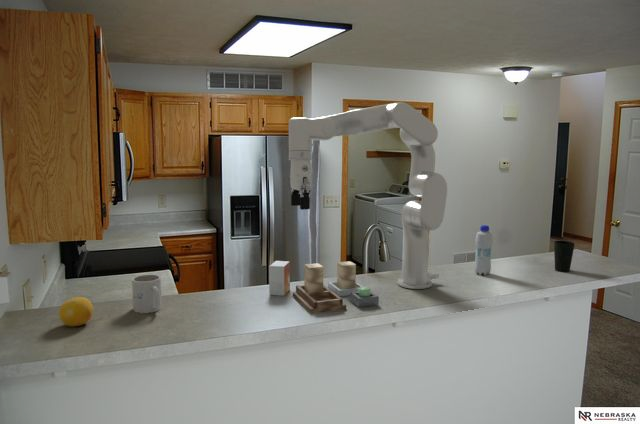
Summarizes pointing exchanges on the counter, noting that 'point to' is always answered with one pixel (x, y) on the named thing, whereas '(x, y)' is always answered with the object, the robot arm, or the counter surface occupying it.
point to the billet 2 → (346, 275)
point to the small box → (279, 278)
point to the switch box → (364, 300)
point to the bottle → (483, 251)
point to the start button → (364, 292)
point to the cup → (563, 255)
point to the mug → (146, 293)
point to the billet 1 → (313, 277)
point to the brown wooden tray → (319, 300)
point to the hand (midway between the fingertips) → (300, 207)
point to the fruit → (76, 311)
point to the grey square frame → (345, 291)
